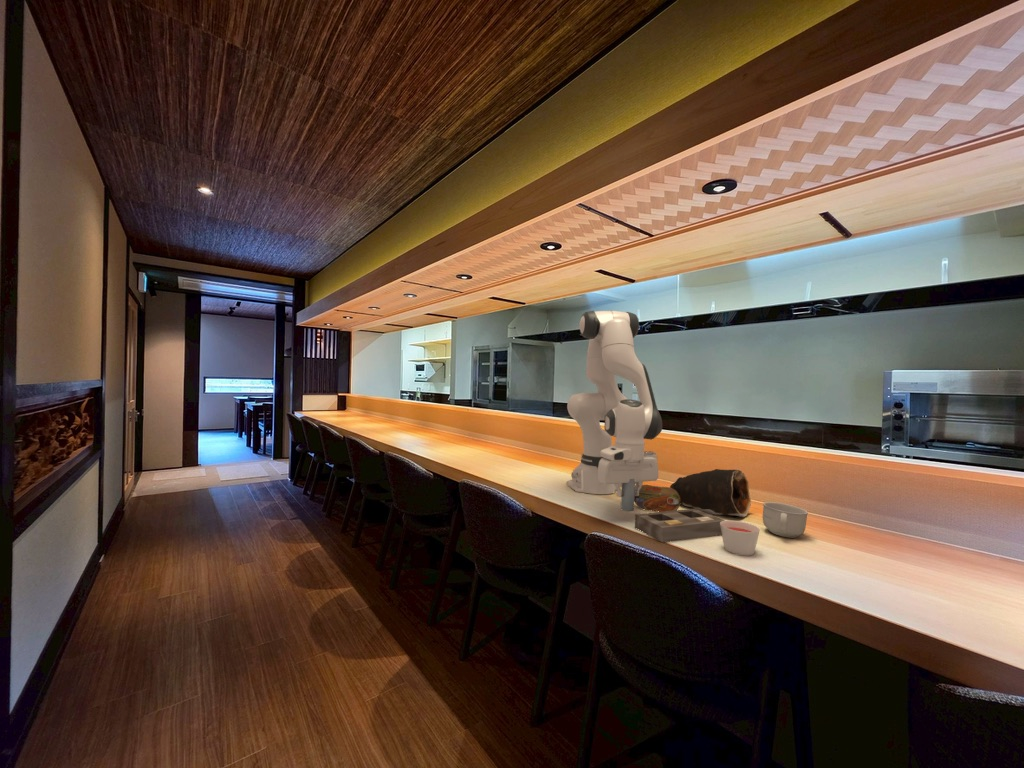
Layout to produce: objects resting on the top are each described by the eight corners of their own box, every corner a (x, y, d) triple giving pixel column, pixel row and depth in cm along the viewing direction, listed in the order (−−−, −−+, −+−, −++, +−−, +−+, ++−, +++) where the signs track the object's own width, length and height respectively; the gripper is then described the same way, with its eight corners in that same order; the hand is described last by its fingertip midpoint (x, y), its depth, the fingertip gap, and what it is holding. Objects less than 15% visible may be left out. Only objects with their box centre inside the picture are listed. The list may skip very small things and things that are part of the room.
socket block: (634, 527, 123) (635, 513, 123) (694, 521, 131) (694, 507, 131) (662, 542, 112) (662, 526, 112) (725, 534, 119) (725, 519, 119)
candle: (743, 560, 102) (744, 534, 102) (711, 546, 110) (712, 522, 110) (767, 554, 106) (767, 529, 106) (734, 542, 114) (735, 518, 114)
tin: (633, 508, 144) (633, 483, 144) (634, 506, 146) (635, 482, 146) (679, 515, 137) (680, 489, 137) (680, 513, 139) (681, 487, 139)
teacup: (768, 525, 128) (768, 499, 128) (810, 534, 121) (811, 507, 121) (754, 536, 119) (755, 508, 119) (799, 547, 111) (800, 517, 111)
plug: (618, 507, 132) (619, 476, 131) (629, 506, 133) (630, 475, 133) (625, 511, 128) (626, 479, 128) (636, 510, 129) (637, 478, 129)
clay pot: (675, 466, 160) (744, 463, 141) (684, 505, 159) (755, 508, 140) (656, 476, 149) (728, 475, 131) (665, 518, 149) (739, 523, 130)
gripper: (650, 449, 136) (649, 491, 137) (595, 451, 130) (594, 495, 130) (663, 452, 130) (662, 496, 131) (606, 455, 124) (605, 501, 124)
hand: (627, 496), depth 130 cm, fingers closed on plug, 4 cm apart
